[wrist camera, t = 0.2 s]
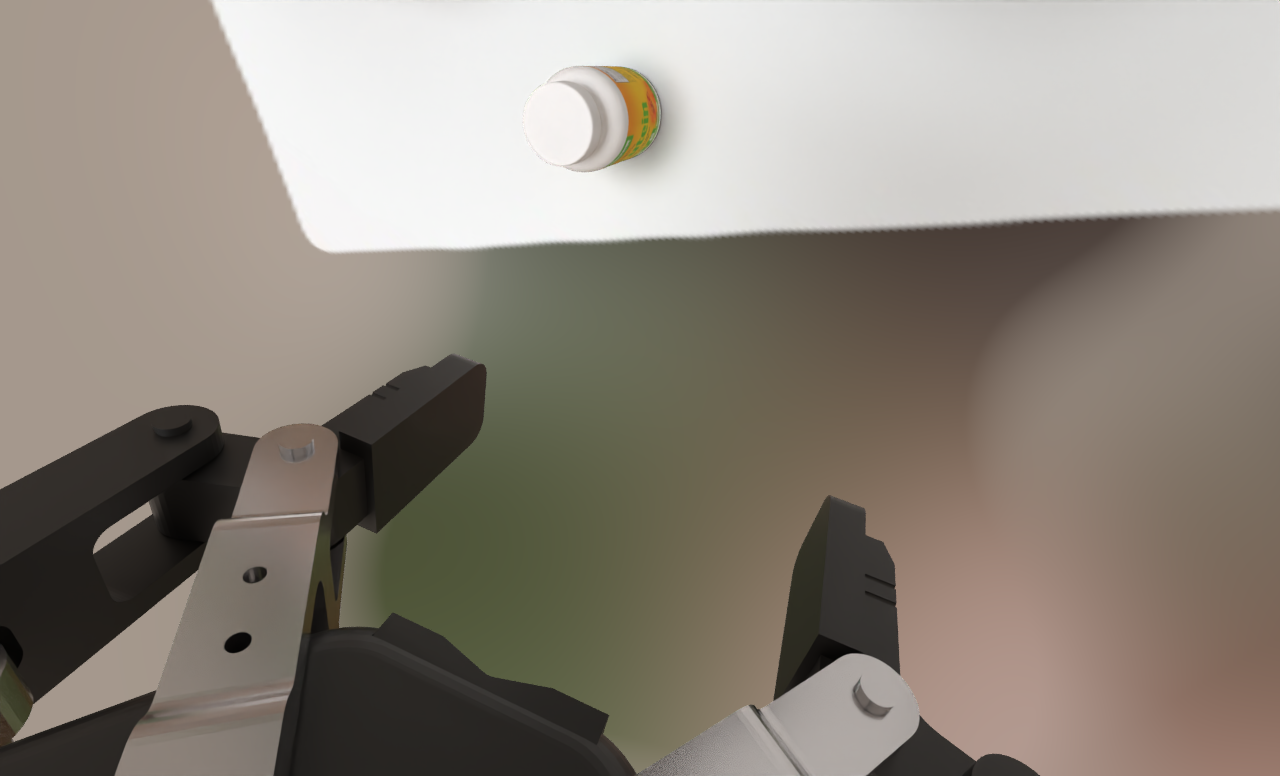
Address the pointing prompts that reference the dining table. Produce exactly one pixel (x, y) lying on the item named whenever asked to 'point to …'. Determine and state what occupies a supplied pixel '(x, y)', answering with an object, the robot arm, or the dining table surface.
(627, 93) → the supplement bottle
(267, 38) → the dining table surface
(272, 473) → the robot arm
